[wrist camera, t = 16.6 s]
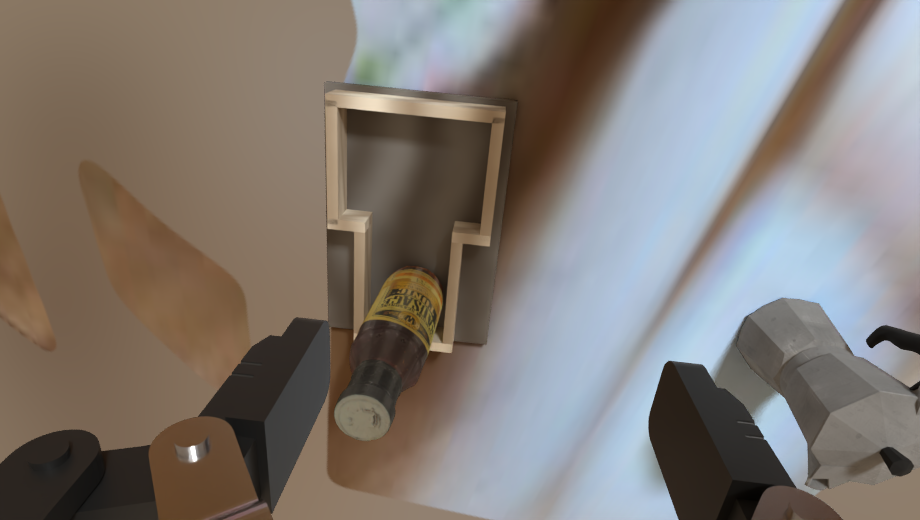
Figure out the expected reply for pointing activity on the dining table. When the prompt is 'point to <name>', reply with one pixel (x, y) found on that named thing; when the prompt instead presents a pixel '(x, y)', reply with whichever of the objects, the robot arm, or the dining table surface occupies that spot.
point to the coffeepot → (836, 393)
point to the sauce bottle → (389, 351)
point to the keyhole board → (415, 199)
